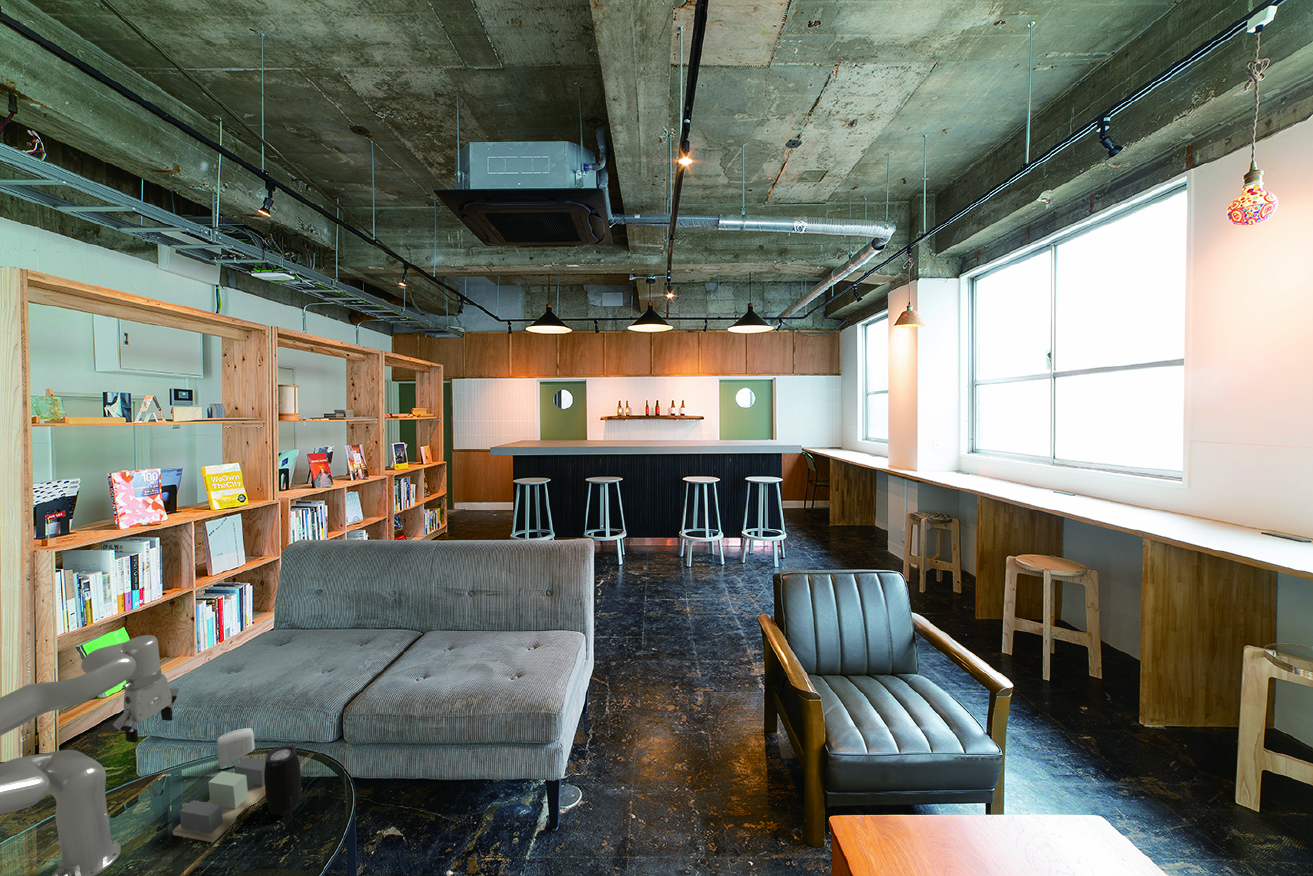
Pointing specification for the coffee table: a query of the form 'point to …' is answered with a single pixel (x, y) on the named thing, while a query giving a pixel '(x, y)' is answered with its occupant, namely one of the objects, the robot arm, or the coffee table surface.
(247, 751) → the photo printer
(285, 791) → the portable speaker
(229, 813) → the rail board
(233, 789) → the block
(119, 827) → the coffee table surface
